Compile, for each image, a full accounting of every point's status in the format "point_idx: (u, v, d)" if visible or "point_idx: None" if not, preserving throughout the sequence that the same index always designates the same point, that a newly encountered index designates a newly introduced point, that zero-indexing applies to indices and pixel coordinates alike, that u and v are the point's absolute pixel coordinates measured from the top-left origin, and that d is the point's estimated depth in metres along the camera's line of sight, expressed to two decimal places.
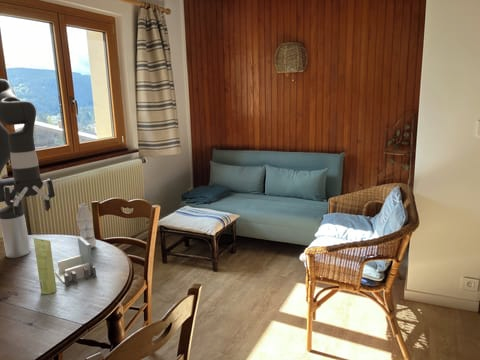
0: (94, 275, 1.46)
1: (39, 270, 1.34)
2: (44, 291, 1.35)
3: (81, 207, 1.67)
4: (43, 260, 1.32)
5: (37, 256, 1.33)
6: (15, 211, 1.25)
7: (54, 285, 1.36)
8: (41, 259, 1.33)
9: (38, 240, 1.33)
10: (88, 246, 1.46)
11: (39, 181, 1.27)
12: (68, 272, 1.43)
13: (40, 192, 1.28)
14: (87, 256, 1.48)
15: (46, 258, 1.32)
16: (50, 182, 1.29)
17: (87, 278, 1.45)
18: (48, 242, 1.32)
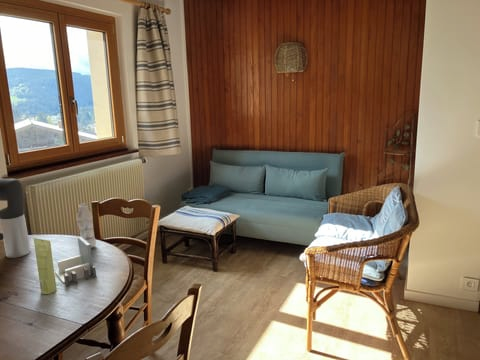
0: (94, 275, 1.46)
1: (39, 270, 1.34)
2: (44, 291, 1.35)
3: (81, 207, 1.67)
4: (43, 260, 1.32)
5: (37, 256, 1.33)
6: None
7: (54, 285, 1.36)
8: (41, 259, 1.33)
9: (38, 240, 1.33)
10: (88, 246, 1.46)
11: None
12: (68, 272, 1.43)
13: None
14: (87, 256, 1.48)
15: (46, 258, 1.32)
16: None
17: (87, 278, 1.45)
18: (48, 242, 1.32)
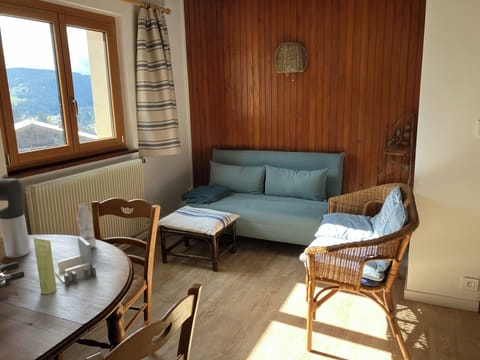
0: (94, 275, 1.46)
1: (39, 270, 1.34)
2: (44, 291, 1.35)
3: (81, 207, 1.67)
4: (43, 260, 1.32)
5: (37, 256, 1.33)
6: None
7: (54, 285, 1.36)
8: (41, 259, 1.33)
9: (38, 240, 1.33)
10: (88, 246, 1.46)
11: None
12: (68, 272, 1.43)
13: None
14: (87, 256, 1.48)
15: (46, 258, 1.32)
16: None
17: (87, 278, 1.45)
18: (48, 242, 1.32)
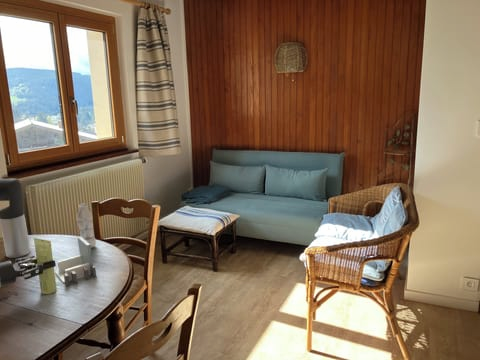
0: (94, 275, 1.46)
1: None
2: (44, 291, 1.35)
3: (81, 207, 1.67)
4: (44, 260, 1.32)
5: (37, 256, 1.33)
6: None
7: (54, 285, 1.36)
8: (41, 259, 1.33)
9: (38, 240, 1.33)
10: (88, 246, 1.46)
11: None
12: (68, 272, 1.43)
13: None
14: (87, 256, 1.48)
15: (47, 258, 1.32)
16: None
17: (87, 278, 1.45)
18: (48, 242, 1.32)
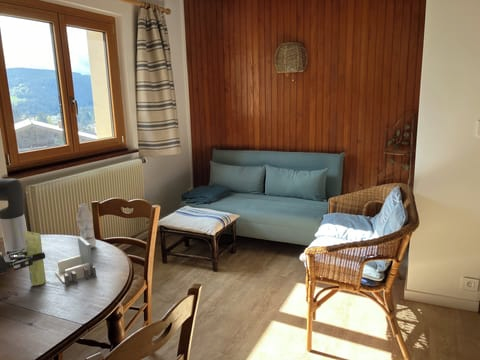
0: (94, 275, 1.46)
1: None
2: (34, 282, 1.40)
3: (81, 207, 1.67)
4: (33, 252, 1.37)
5: (27, 248, 1.38)
6: None
7: (43, 277, 1.41)
8: (31, 251, 1.38)
9: (29, 233, 1.38)
10: (88, 246, 1.46)
11: None
12: (68, 272, 1.43)
13: None
14: (87, 256, 1.48)
15: (36, 250, 1.37)
16: None
17: (87, 278, 1.45)
18: (38, 235, 1.37)
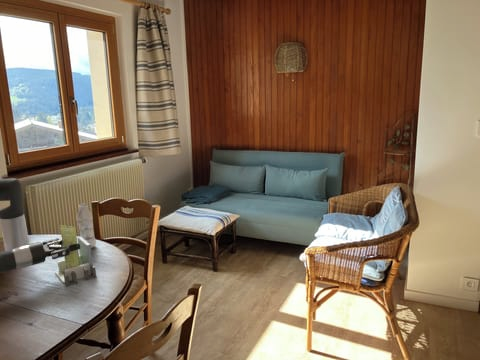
0: (94, 275, 1.46)
1: None
2: None
3: (81, 207, 1.67)
4: (69, 244, 1.44)
5: (63, 241, 1.45)
6: None
7: None
8: (67, 244, 1.45)
9: (64, 227, 1.45)
10: (88, 246, 1.46)
11: None
12: (68, 272, 1.43)
13: None
14: (87, 256, 1.48)
15: (72, 242, 1.44)
16: None
17: (87, 278, 1.45)
18: (73, 228, 1.44)
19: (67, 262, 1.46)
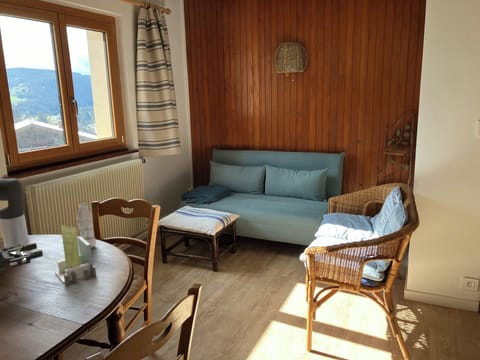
0: (94, 275, 1.46)
1: (66, 255, 1.45)
2: None
3: (81, 207, 1.67)
4: (70, 245, 1.44)
5: (64, 242, 1.45)
6: None
7: None
8: (68, 244, 1.44)
9: (65, 227, 1.45)
10: (88, 246, 1.46)
11: None
12: (68, 272, 1.43)
13: None
14: (87, 256, 1.48)
15: (73, 243, 1.44)
16: None
17: (87, 278, 1.45)
18: (74, 229, 1.43)
19: (67, 262, 1.46)
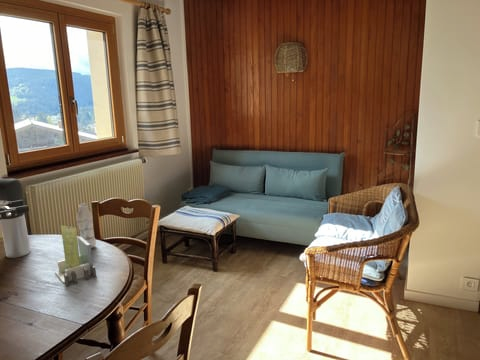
0: (94, 275, 1.46)
1: (66, 255, 1.45)
2: None
3: (81, 207, 1.67)
4: (70, 245, 1.44)
5: (64, 242, 1.45)
6: None
7: None
8: (68, 244, 1.44)
9: (65, 227, 1.45)
10: (88, 246, 1.46)
11: None
12: (68, 272, 1.43)
13: None
14: (87, 256, 1.48)
15: (73, 243, 1.44)
16: None
17: (87, 278, 1.45)
18: (74, 229, 1.43)
19: (67, 262, 1.46)
